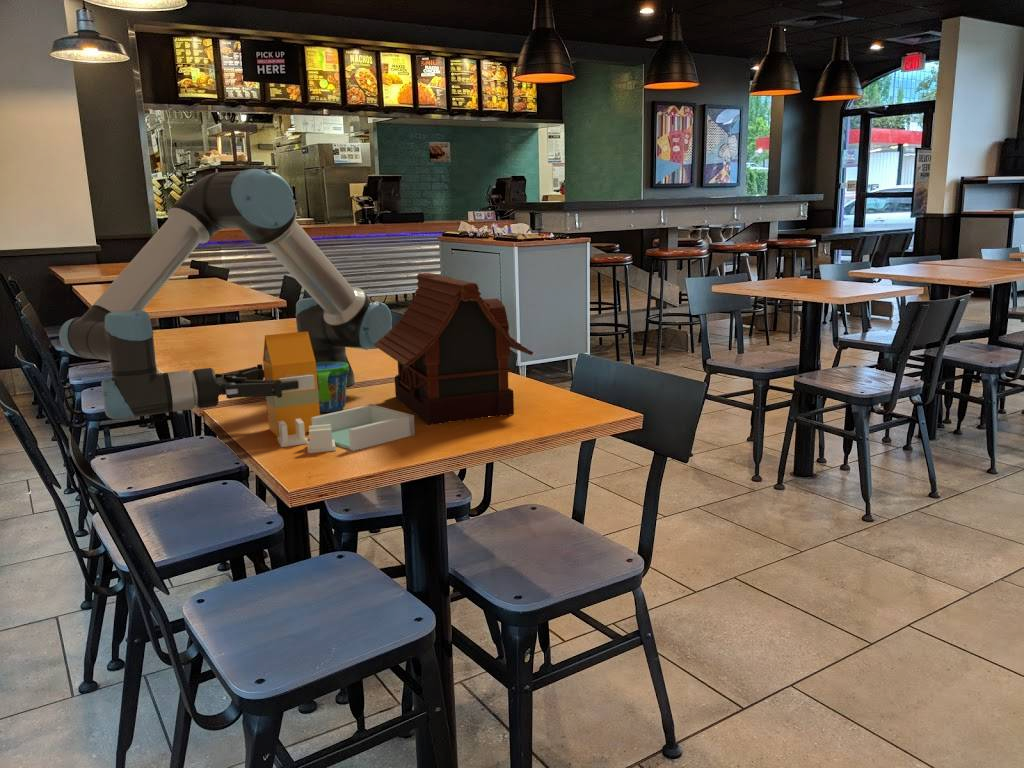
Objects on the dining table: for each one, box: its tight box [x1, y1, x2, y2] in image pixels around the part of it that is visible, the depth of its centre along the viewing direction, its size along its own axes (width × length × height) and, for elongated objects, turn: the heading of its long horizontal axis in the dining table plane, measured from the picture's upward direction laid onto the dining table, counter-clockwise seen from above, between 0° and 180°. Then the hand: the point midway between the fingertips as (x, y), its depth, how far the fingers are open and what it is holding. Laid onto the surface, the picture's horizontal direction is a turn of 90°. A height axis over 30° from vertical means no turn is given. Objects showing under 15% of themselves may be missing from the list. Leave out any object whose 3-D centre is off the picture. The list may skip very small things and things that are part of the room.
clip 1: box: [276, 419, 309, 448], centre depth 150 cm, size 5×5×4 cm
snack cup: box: [316, 362, 349, 413], centre depth 175 cm, size 16×10×10 cm
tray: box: [311, 403, 416, 452], centre depth 153 cm, size 14×14×4 cm
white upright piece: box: [307, 424, 337, 454], centre depth 145 cm, size 5×5×4 cm
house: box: [374, 272, 534, 426], centre depth 175 cm, size 35×28×29 cm
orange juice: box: [262, 331, 321, 437], centre depth 157 cm, size 8×9×20 cm
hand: (304, 375), depth 158 cm, fingers open, 13 cm apart
